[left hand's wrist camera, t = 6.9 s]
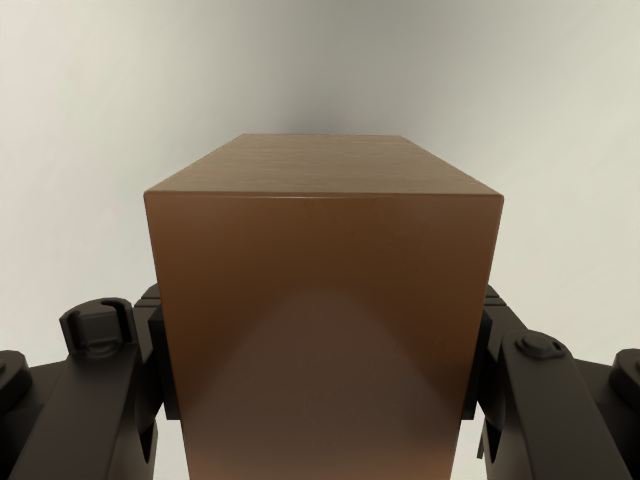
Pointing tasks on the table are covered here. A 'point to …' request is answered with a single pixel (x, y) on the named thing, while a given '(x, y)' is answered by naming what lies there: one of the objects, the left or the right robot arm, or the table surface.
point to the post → (321, 305)
